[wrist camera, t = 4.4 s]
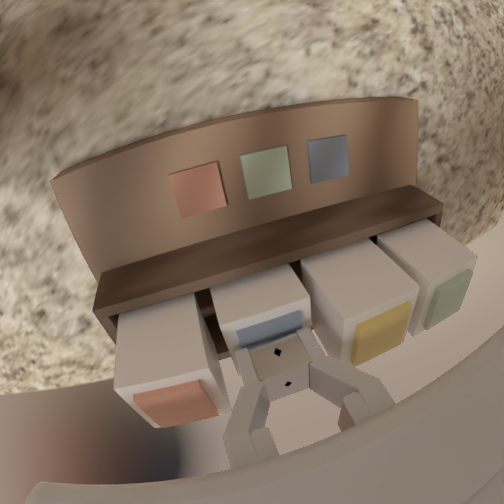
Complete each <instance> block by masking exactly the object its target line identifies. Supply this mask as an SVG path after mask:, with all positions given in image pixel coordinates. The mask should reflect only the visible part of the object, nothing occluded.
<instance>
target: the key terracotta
mask: <svg viewBox="0 0 504 504" xmlns="http://www.w3.org/2000/svg"><path fill="white" fill-rule="evenodd" d="M114 390H115V391H116V392H117V393H118V394H119V395H120V396H121V397H122V398H123V399H124V400H125V401H126V402H127V403H128V404H129V405H130V406H131V407H132V408H133V409H134V410H135V411H137V412H138V413H139V414H140V415H141V416H142V417H143V418H144V419H145V420H146V421H148V422H149V423H150V424H151V425H152V426H153V427H154V428H159V427H161V428H164V427H169V426H175V425H180V424H185V423H189V422H194V421H198V420H202V419H207V418H210V417H214V416H218V415H219V414H222V413H226V412H230V411H232V408H231V405H230V401H229V398H228V394H227V390H226V387H225V383H224V379H223V375H222V372H221V368H220V364H219V360H218V356H217V352H216V348H215V344H214V341H213V339H212V337H211V334H210V332H209V329H208V327H207V325H206V322H205V320H204V317H203V315H202V312H201V310H200V308H199V305H198V303H197V300H196V298H195V295H194V293H191V294H187V295H184V296H181V297H177V298H174V299H170V300H167V301H163V302H160V303H156V304H153V305H149V306H146V307H142V308H139V309H135V310H132V311H128V312H125V313H121V314H119V317H118V327H117V339H116V352H115V369H114Z"/></svg>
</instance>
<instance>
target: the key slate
mask: <svg viewBox="0 0 504 504" xmlns="http://www.w3.org/2000/svg"><path fill="white" fill-rule="evenodd" d="M210 292H211V296H212V299H213V303H214V307H215V311H216V315H217V319H218V322H219V326H220V329H221V331H222V334H223V337H224V339H225V342H226V345H227V347H228V350H229V352H230V355H231V357H232V360H233V362H234V365H235V367H236V370H237V372H238V375H241V373H240V370H239V367H238V363H237V360H236V357H235V353H234V351H236V350H239V349H243V348H246V347H249V346H253V345H256V344H260V343H263V342H266V341H269V340H271V339H274V338H277V337H279V336H282V335H285V334H288V333H290V332H293V331H297V330H299V329H302V328H305V327H309V328H310V330H312V329H311V303H310V295H309V294H308V292H307V291H306V289H305V288H304V286H303V285H302V283H301V282H300V280H299V279H298V277H297V276H296V274H295V272H294V271H293V269H292V268H291V266H290V265H289V263H288V264H285V265H281V266H278V267H275V268H272V269H269V270H265V271H262V272H259V273H256V274H252V275H249V276H246V277H243V278H239V279H236V280H233V281H229V282H226V283H223V284H220V285H216V286H213V287H210Z"/></svg>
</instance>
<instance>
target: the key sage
mask: <svg viewBox="0 0 504 504" xmlns="http://www.w3.org/2000/svg"><path fill="white" fill-rule="evenodd" d="M377 246H378V247H379V248H380V249H381V250H382V251H383V252H384V253H385V254H386V255H388V256H389V257H390V258H391V259H392V260H393V261H394V262H395V263H396V264H397V265H398V266H399V267H400V268H402V269H403V270H404V271H405V272H406V273H407V274H408V275H409V276H410V277H411V278H412V279H413V280H414V281H415V282H416V283H417V284H418V285H419V286H420V288H419V292H418V296H417V299H416V303H415V307H414V310H413V313H412V317H411V320H410V323H409V326H408V329H407V330H408V332H409V333H410V334H411V335H412V336H415V335H417V334H419V333H420V332H422V331H424V330H427V329H429V328H431V327H433V326H434V325H436V324H437V323H439V322H440V321H442V320H444V319H446V318H447V317H449V316H450V315H452V314H453V313H455V312H457V311H458V310H459V309H460V306H461V304H462V301H463V299H464V296H465V294H466V291H467V288H468V286H469V283H470V280H471V277H472V274H473V269H474V266H475V263H476V260H477V255H475V254H474V253H473V252H471V251H470V250H469V249H468V248H467V247H465V246H464V245H463V244H461V243H460V242H459V241H457V240H456V239H455V238H453V237H452V236H451V235H449V234H448V233H446V232H445V231H444V230H442V229H441V228H440V227H438V226H437V225H435V224H434V223H432V222H431V221H430V220H428V219H427V218H425V219H422V220H420V221H417V222H414V223H411V224H408V225H405V226H402V227H399V228H396V229H393V230H390V231H387V232H385V233H382V234H379V235H377Z"/></svg>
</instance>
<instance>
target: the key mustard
mask: <svg viewBox="0 0 504 504" xmlns="http://www.w3.org/2000/svg"><path fill="white" fill-rule="evenodd" d="M301 271H302V284H303V286H304V288H305V289H306V291H307V292H308V294H309V295H310V303H311V326H312V327H313V329H314V330H315V333H316V334H317V336H318V337H319V339H320V341H321V343H322V344H323V346H324V348H325V349H326V351H327V353H328V355H329V356H332V357H334V358H336V359H338V360H340V361H342V362H344V363H346V364H348V365H350V366H352V367H355V366H357V365H359V364H362V363H364V362H366V361H368V360H370V359H372V358H374V357H376V356H378V355H380V354H382V353H384V352H386V351H388V350H390V349H392V348H394V347H396V346H398V345H399V344H401V343H402V342H403V341H404V338H405V335H406V332H407V329H408V326H409V323H410V320H411V317H412V313H413V310H414V307H415V303H416V299H417V296H418V292H419V288H420V286H419V285H418V284H417V283H416V282H415V281H414V280H413V279H412V278H411V277H410V276H409V275H408V274H407V273H406V272H405V271H404V270H403V269H402V268H400V267H399V266H398V265H397V264H396V263H395V262H394V261H393V260H392V259H391V258H390V257H389V256H388V255H386V254H385V253H384V252H383V251H382V250H381V249H380V248H379V247H378V246H377V245H375V244H374V243H373V242H372V241H371V240H370V239H369V238H365V239H362V240H359V241H356V242H353V243H350V244H347V245H344V246H341V247H338V248H335V249H331V250H328V251H325V252H322V253H319V254H316V255H313V256H310V257H307V258H304V259H301Z"/></svg>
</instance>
